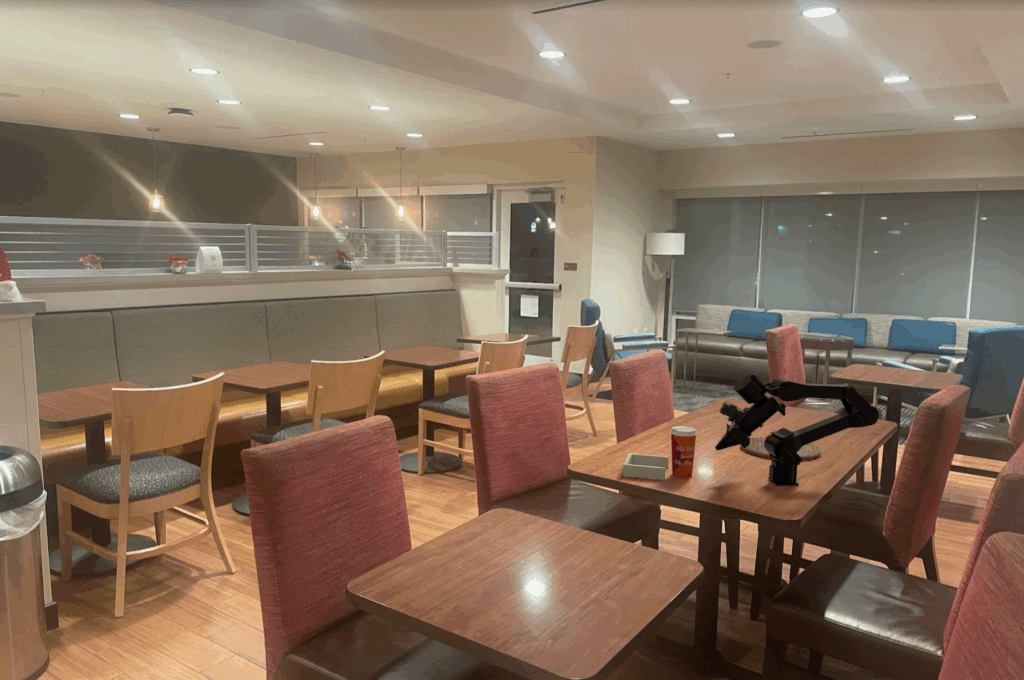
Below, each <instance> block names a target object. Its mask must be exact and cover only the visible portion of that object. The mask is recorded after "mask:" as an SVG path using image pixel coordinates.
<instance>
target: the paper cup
mask: <svg viewBox="0 0 1024 680" xmlns="http://www.w3.org/2000/svg"><path fill="white" fill-rule="evenodd" d="M669 433H670V435H671V436H670V437H671V438H670V439H671V440H670V441H671V473H672V477H674V476H675V478H678V479H690V478H692V477H693V469H694V460H695V449H696V438H697V435H698V432H697V430H696V428H694V427H692V426H691V427H690V426H682V425H677V426H672V428H671V430H670V432H669Z"/></svg>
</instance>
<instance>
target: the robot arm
mask: <svg viewBox="0 0 1024 680" xmlns="http://www.w3.org/2000/svg"><path fill="white" fill-rule="evenodd" d="M733 391H734V392H736V394H737V395H739V397H740V398H742V399H743V400H744V402H746V403H747V404H749V405H750V406H749V407H747V406H746V407H744V408H743V409H742V408H740V407H739V406H737V405H735V404H733V403H731V402H729V401H727V400H724V402H723V403H722V405H721V407H720V409H719V414H722V415H723V416H727V421H728V422H731V423H730V424H729V423H726V431H725V433H724V434H723V435H722V437H721V438H720V439H719V441H718V442H717V444H716V445H715V447H714V448H715V450H716V451H721V450H724V449H727V448H731V447H736V446H740V447H741V446H742V447H743V448H746V447H747V446H748V445H749V444H750V438H751V436H753V435H752V433H754V432H755V431H756V430H758V428H762V427H763V426H764V423H766V422H767V421H768V420H770V419H771V418H772V417H773V416H774V415H776V414H777V413H779V414H780V415H782V416H783V417H785V416H786V409H787V406H786V405H785V403H780V402H779V401H778V400H781V401H783V402H794V401H799V400H803V399H807V398H808V399H831V400H832V399H834V400H835V399H836V400H837V399H839V400H840V402H841V404H842V405H841V406H843V408H842V409H841V411H840V412H839V413H837V414H834V415H832V416H829V417H827V418H824V419H822V420H820V421H816V422H815V423H811V424H810V425H806V426H805V427H802V428H799V429H797V430H794V431H791V430H789V429H788V428H785V427H782V428H779V429H778V430H776V431H770V434H769V435H767V436H765V437H766V440H765V442H764V447H765V449H766V451H767V452H769V456H770V457H771V458H773V459H774V460H773V459H770V460H771V461H770V464H769V468H768V471H769V472H768V477H767V479H768V481H770V482H772V483H773V484H775V486H779V487H780V486H781V487H783V486H799V485H800V482H798V481H797V480H798V478H797V476H798V475H797V474H798V466H800V465H801V462H802V461H801V460H802V458H801V457H800V456H799V455H798V454H797V452H798V451H799V450H800V449H801V448H802V447H803V446H804V445H807V444H809V443H810V444H812V443H815V442H817V441H818V440H821V439H824V438H827V437H829V436H832V435H835V434H837V433H840V432H842V431H844V430H848V429H854V428H857V429H858V428H865V427H869V426H874V425H875V424H877V423H878V419H880V418H879V417H880V414H879V410H878V408H877V407H876V406H874V405H871V404H870V403H869V401H868V400H867V399H865V398H864V397H863V396H862V395H861V394H860V393H858V391H857V390H856V388H854V387H853V386H852V385H849V384H845V383H840V384H835V383H834V384H832V383H806V382H798V381H794V380H791V379H786V378H782V377H781V378H780V377H776V378H773V379H772V381H771V382H767V383H766V382H765V383H762V382H761V381H760V380H759V379H758V377H757V376H756V375H755V374H754V373H749V374H748V375H746V376H744V377H742V378H741V379H739V380H738V381H736V382H735V384H734V386H733ZM767 394H768V395H770V396H771V397H769V396H768V395H767ZM777 399H778V400H777ZM751 404H752V405H751Z"/></svg>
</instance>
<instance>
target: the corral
mask: <svg viewBox="0 0 1024 680" xmlns="http://www.w3.org/2000/svg"><path fill="white" fill-rule="evenodd" d="M669 458H670V456H666V455H665V456H664V455H656V454H655V455H652V454H643V453H642V454H641V453H630V452H629V453H628V455H627V457H626V458H625V460H624V462H623V463H622V477H626V478H635V477H641V478H640V479H646V478H651V479H650V480H656V479H659V481H666V469H667V470H668V469H669V462H670V461H669V460H670V459H669ZM665 468H666V469H665Z"/></svg>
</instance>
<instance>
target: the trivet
mask: <svg viewBox="0 0 1024 680" xmlns="http://www.w3.org/2000/svg"><path fill="white" fill-rule="evenodd" d="M766 437H767V436H756V437H750V444H749V445H748V446H747V447H746V448H743V447H742V446H741V445H740V449H741V450H742V452H744V451H745V452H744V453H746V452H747V453H746V454H748V453H749V454H748V455H751V456H754V455H755V456H754V457H757V456H758V458H762V457H763V458H762V459H767V458H769V459H768V460H773V458H771V457H770V456H769V452H767V451H766V449H765V447H764V442H765V440H766ZM821 451H822V450H821V448H820V447H819V446H817V445H815V444H814V443H813V444H812V443H809V444H807V445H804V446H803V447H802V448H801V449H800V450H799V451H798V452H797V454H798V455H799V456H800V457H801V458H802V460H808V461H812V460H811V459H813V460H816V459H815V458H817V459H818V457H819V458H820V457H821ZM802 460H801V462H803V461H802Z"/></svg>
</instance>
